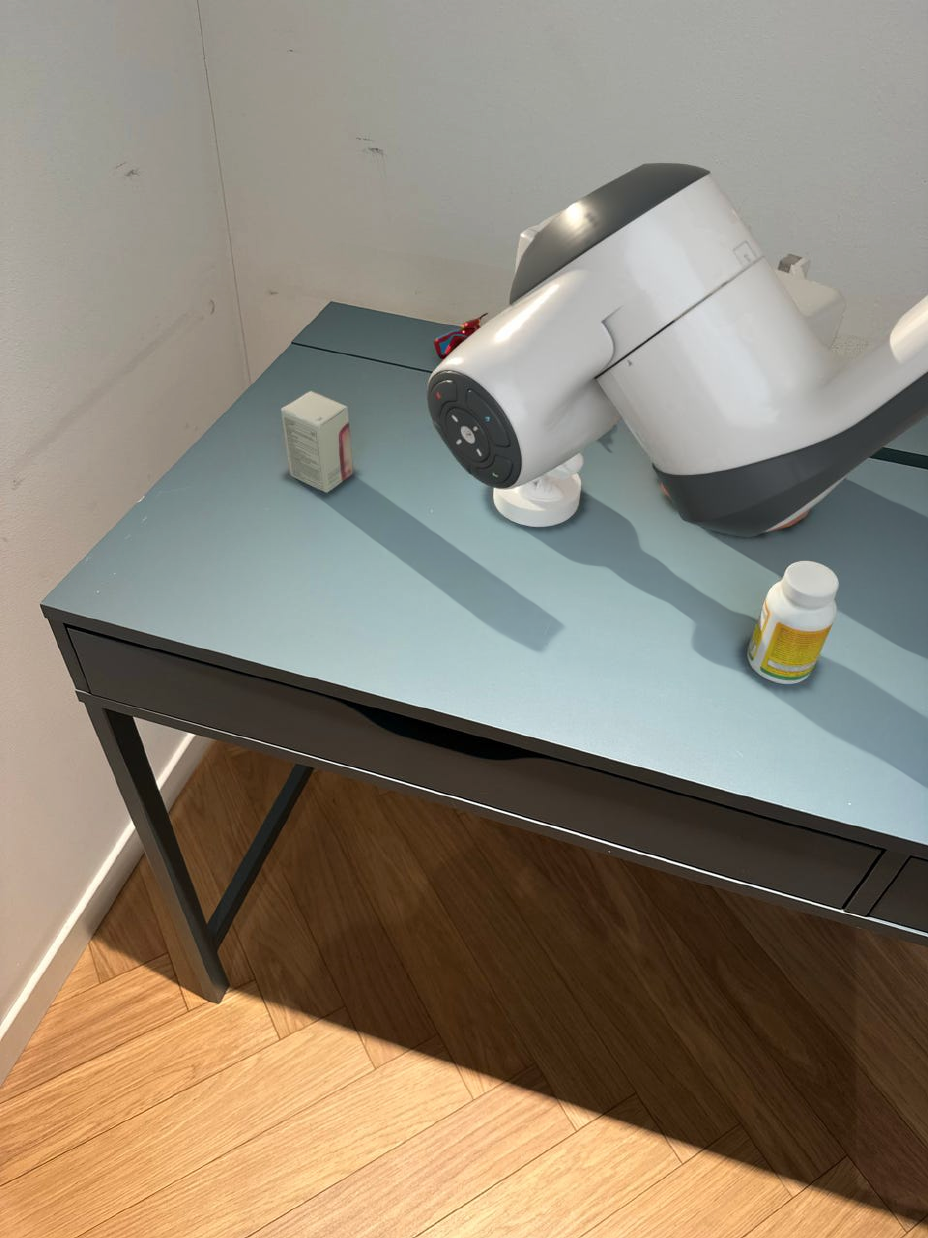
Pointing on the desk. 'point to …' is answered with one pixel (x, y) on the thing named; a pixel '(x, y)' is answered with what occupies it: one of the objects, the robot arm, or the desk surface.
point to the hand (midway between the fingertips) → (734, 246)
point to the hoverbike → (456, 337)
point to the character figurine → (543, 497)
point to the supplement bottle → (794, 623)
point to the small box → (318, 441)
